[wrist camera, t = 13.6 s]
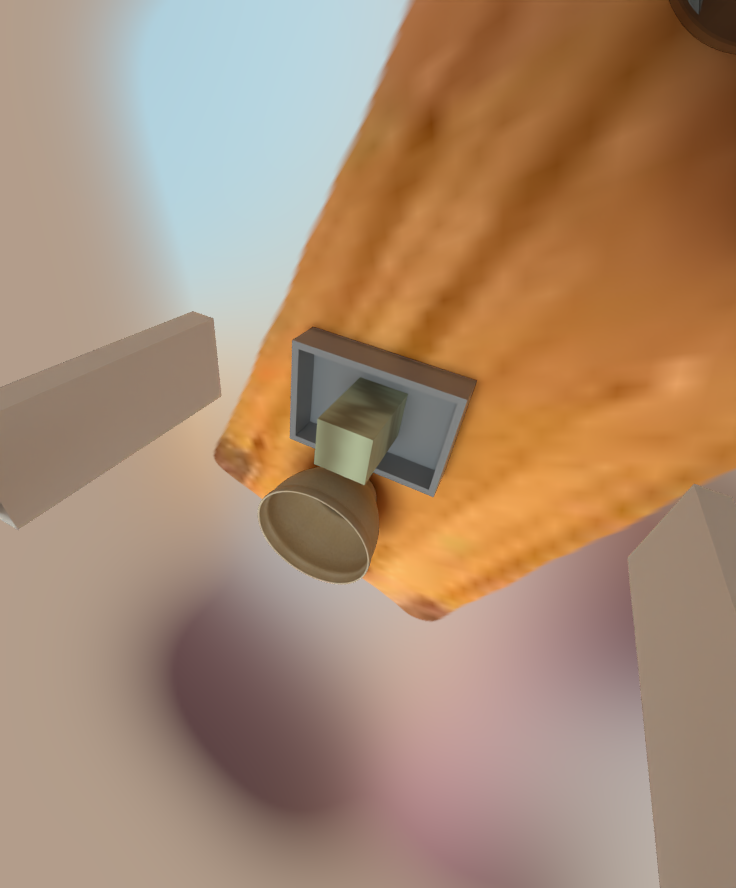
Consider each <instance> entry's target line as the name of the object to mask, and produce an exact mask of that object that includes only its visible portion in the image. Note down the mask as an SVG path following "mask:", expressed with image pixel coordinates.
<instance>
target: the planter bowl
mask: <svg viewBox="0 0 736 888" xmlns="http://www.w3.org/2000/svg"><path fill="white" fill-rule="evenodd" d="M376 501H377V496H376V491H375V488H374V486H373V485H372V483H371V481H370V480H369V479H368V481H367V482H366V484H365V485H363V484H360V483H358V482H356V481H353V480H351V479H349V478H346V477H344V476H341V475H339V474H337V473H334V472H332V471H329V470H327V469H325V468H322V467H316V468H311V469H307V470H304V471H302V472H299V473H297V474H295V475H293V476H291V477H290V478H288V479H287V480H285V481H284V482H282V483H281V484H280V485H279V486H278V487H277V488H276V489H275V490H273V491H271V492H270V493H269V494H267V495H266V496H265V497H264V498H263V499H262V501H261V502H260V505H259V507H258V522H259V525H260V529H261V531H262V533H263V535H264V537H265V539H266V540H267V541H268V543H269V545H270V546H271V547H272V548H273V549H274V551H275V552H276V553H277V554H278V555H279V556H280V557H281V558H283V559H284V560H285V561H286V562H287V563H288V564H290V565H291V566H292V567H294V568H295V569H297V570H299V571H300V572H302V573H304V574H305V575H308V576H310V577H312V578H314V579H317V580H320V581H323V582H327V583H332V584H350V583H353V582H356V581H358V580H360V579H361V578H362V577H363V576H364V575H365V574H366V572H367V570H368V568H369V566H370V562H371V558H372V555H373V553H374V550H375V547H376V544H377V540H378V533H379V515H378V509H377V505H376Z"/></svg>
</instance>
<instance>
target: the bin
mask: <svg viewBox="0 0 736 888" xmlns="http://www.w3.org/2000/svg"><path fill="white" fill-rule="evenodd" d="M360 377H361V378H364V379H367V380H370V381H373V382H375V383H378V384H381V385H384V386H387V387H390V388H393V389H395V390H398V391H401V392H404V393H407V394H408V396H407V400H406V404H405V409H404V413H403V417H402V421H401V425H400V429H399V434H398V436H397V438H396V439H395V441H394V442H393V444H392V445H391V447H390V448H389V450H388V451H387V453H386V454H385V456H384V457H383V459H382V460H381V462H380V463H379V465H378V466H377V468H376V469H375V470H374V472H373V473H376V474H378V475H381V476H383V477H385V478H388V479H390V480H393V481H395V482H398V483H400V484H402V485H405V486H407V487H410V488H412V489H415V490H417V491H420V492H422V493H424V494H427V495H429V496H432V497H434V495H435V493H436V491H437V488H438V486H439V484H440V482H441V479H442V477H443V475H444V472H445V469H446V467H447V464H448V461H449V458H450V455H451V452H452V450H453V447H454V444H455V441H456V438H457V436H458V433H459V430H460V427H461V424H462V422H463V419H464V416H465V413H466V410H467V407H468V405H469V402H470V399H471V396H472V393H473V391H474V388H475V385H476V382H477V381H476V380H473V379H470V378H467V377H464V376H461V375H458V374H455V373H452V372H449V371H446V370H443V369H440V368H437V367H434V366H431V365H428V364H425V363H422V362H419V361H416V360H412V359H409V358H406V357H403V356H400V355H397V354H394V353H391V352H388V351H385V350H382V349H379V348H376V347H373V346H370V345H367V344H364V343H361V342H358V341H355V340H352V339H349V338H346V337H343V336H340V335H336V334H333V333H330V332H327V331H324V330H321V329H318V328H315V327H312V328H311V329H309V330H308V331H306V332H304V333H303V334H301V335H300V336H298V337H296V338H295V339H293V340H292V374H291V413H290V439H293V440H295V441H298V442H300V443H302V444H305V445H307V446H310V447H312V448H315V445H316V432H317V419H318V418H319V417H320V416H321V415H322V414H323V413H324V412H325V411H326V410H327V409H328V408H329V407H330V406H331V405H332V404H333V403H334V402H335V401H336V400H337V399H338V398H339V397H340V396H341V395H342V394H343V393H344V392H345V391H346V390H347V389H348V388H349V387H350V386H351V385H353V384H354V383H355V382H356V381H357V380H358V379H359V378H360Z"/></svg>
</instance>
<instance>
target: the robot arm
mask: <svg viewBox="0 0 736 888" xmlns="http://www.w3.org/2000/svg"><path fill="white" fill-rule="evenodd" d="M669 1H670V4H671V6H672V8H673V10H674V12H675V14H676V16H677V17H678V19H679V20H680V22H681V23H682V24H683V25H684V27H685V28H686V29H687V30H688V31H689V32H690V33H691V34H692V35H693V36H694V37H696V38H697V39H698V40H700V41H701V42H703V43H705V44H706V45H708V46H710V47H712V48H715V49H717V50H720V51H723V52H727V53H731V54H736V0H669ZM219 397H221V388H220V378H219V368H218V358H217V349H216V340H215V330H214V320H213V318H211V317H208V316H205V315H202V314H199V313H196V312H193V311H192V312H190V313H187V314H185V315H182V316H180V317H177V318H175V319H172V320H170V321H167V322H164V323H162V324H159V325H157V326H154V327H152V328H149V329H147V330H144V331H142V332H139V333H136V334H134V335H132V336H129V337H126V338H124V339H121V340H119V341H116V342H114V343H111V344H109V345H106V346H103V347H101V348H98V349H96V350H93V351H91V352H88V353H86V354H83V355H81V356H78V357H76V358H73V359H71V360H68V361H65V362H63V363H60V364H58V365H55V366H53V367H50V368H48V369H45V370H43V371H40V372H38V373H35V374H32V375H30V376H27V377H25V378H22V379H20V380H17V381H15V382H12V383H10V384H7V385H5V386H2V387H0V520H2V521H4V522H5V523H7V524H9V525H11V526H12V527H14V528H16V529H20V528H21V527H23V526H24V525H26V524H27V523H29V522H30V521H32V520H33V519H35V518H36V517H38V516H40V515H41V514H43V513H44V512H46V511H47V510H49V509H50V508H52V507H53V506H55V505H56V504H58V503H59V502H61V501H62V500H63V499H65V498H67V497H68V496H70V495H71V494H73V493H75V492H76V491H78V490H79V489H81V488H82V487H84V486H85V485H87V484H88V483H90V482H91V481H93V480H94V479H96V478H97V477H99V476H100V475H102V474H103V473H105V472H106V471H108V470H110V469H111V468H113V467H114V466H116V465H117V464H119V463H120V462H122V461H123V460H125V459H126V458H128V457H129V456H131V455H132V454H134V453H135V452H137V451H139V450H140V449H141V448H143V447H144V446H146V445H148V444H149V443H151V442H152V441H154V440H155V439H157V438H158V437H160V436H161V435H163V434H164V433H166V432H167V431H169V430H171V429H172V428H173V427H175V426H176V425H178V424H180V423H181V422H183V421H184V420H186V419H187V418H189V417H190V416H192V415H193V414H195V413H196V412H198V411H199V410H201V409H202V408H204V407H206V406H207V405H209V404H210V403H212V402H213V401H215V400H216V399H218V398H219ZM628 569H629V579H630V589H631V599H632V610H633V620H634V630H635V639H636V650H637V660H638V670H639V681H640V690H641V700H642V710H643V721H644V731H645V741H646V751H647V762H648V772H649V782H650V790H651V791H650V792H651V802H652V812H653V822H654V832H655V842H656V851H657V852H656V853H657V863H658V873H659V882H660V888H736V504H735V502H734V500H733V497H731V496H728V495H725V494H722V493H719V492H716V491H713V490H710V489H708V488H705V487H702V486H699V485H696V484H693V485H692V487H691V488H690V489H689V490H688V491H687V492H686V493H685V494H684V495H683V497H682V498H681V499H680V500H679V501H678V502H677V503H676V504H675V506H674V507H673V508H672V509H671V510H670V511H669V512H668V513H667V515H666V516H665V517H664V518H663V519H662V520H661V521H660V522H659V523H658V524H657V525H656V527H655V528H654V529H653V530H652V531H651V532H650V533H649V534H648V535H647V537H646V538H645V539H644V540H643V541H642V542H641V543H640V544H639V545H638V546H637V548H636V549H635V550H634V551H633V552H632V553H631V554H630V555H629V556H628Z"/></svg>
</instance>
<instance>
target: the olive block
mask: <svg viewBox="0 0 736 888" xmlns="http://www.w3.org/2000/svg"><path fill="white" fill-rule="evenodd" d="M407 396H408V394H407V393H404V392H401V391H398V390H395V389H393V388H390V387H387V386H384V385H381V384H378V383H375V382H373V381H370V380H367V379H364V378H361V377H360V378H359V379H358V380H357V381H356V382H355V383H354V384H353V385H351V386H350V387H349V388H348V389H347V390H346V391H345V392H344V393H343V394H342V395H341V396H340V397H339V398H338V399H337V400H336V401H335V402H334V403H333V404H332V405H331V406H330V407H329V408H328V409H327V410H326V411H325V412H324V413H323V414H322V415H321V416H320V417H319V418H318V419H317V432H316V445H315V458H314V464H315V465H318V466H320V467H322V468H325V469H327V470H329V471H332V472H334V473H337V474H339V475H341V476H344V477H346V478H349V479H351V480H353V481H356V482H358V483H360V484H363V485H365V484H366V482H367V481H368V479H369V478H370V476H371V475H372V473H373V472H374V470H375V469H376V468H377V466H378V465H379V463H380V462H381V460H382V459H383V457H384V456H385V454H386V453H387V451H388V450H389V448H390V447H391V445H392V444H393V442H394V441H395V439H396V438H397V436H398V434H399V429H400V425H401V421H402V417H403V413H404V409H405V404H406V400H407Z"/></svg>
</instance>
